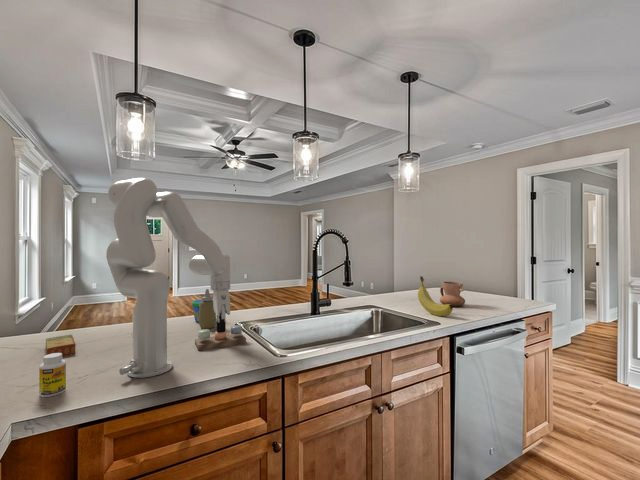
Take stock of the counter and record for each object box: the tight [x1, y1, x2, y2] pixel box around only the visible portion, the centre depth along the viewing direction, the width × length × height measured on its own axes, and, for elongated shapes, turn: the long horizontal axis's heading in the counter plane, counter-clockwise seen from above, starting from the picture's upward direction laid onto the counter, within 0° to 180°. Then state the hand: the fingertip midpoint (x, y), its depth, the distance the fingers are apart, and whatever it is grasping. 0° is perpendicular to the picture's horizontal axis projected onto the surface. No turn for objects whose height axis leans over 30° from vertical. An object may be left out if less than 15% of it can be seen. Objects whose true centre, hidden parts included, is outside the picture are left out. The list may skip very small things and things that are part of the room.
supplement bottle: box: [38, 353, 67, 398], centre depth 88 cm, size 6×6×10 cm
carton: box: [45, 334, 77, 357], centre depth 122 cm, size 8×16×4 cm, turn 41°
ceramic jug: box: [439, 281, 466, 308], centre depth 202 cm, size 18×14×14 cm
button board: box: [194, 333, 247, 352], centre depth 129 cm, size 18×9×2 cm, turn 118°
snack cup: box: [191, 298, 213, 323], centre depth 166 cm, size 16×10×10 cm
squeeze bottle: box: [198, 288, 217, 330], centre depth 153 cm, size 8×8×18 cm
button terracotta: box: [214, 330, 227, 340], centre depth 129 cm, size 4×4×2 cm
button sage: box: [197, 329, 211, 339], centre depth 126 cm, size 4×4×2 cm
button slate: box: [230, 324, 243, 334], centre depth 132 cm, size 4×4×2 cm
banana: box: [417, 275, 454, 317], centre depth 177 cm, size 23×6×20 cm, turn 29°
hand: (221, 331), depth 129 cm, fingers closed
